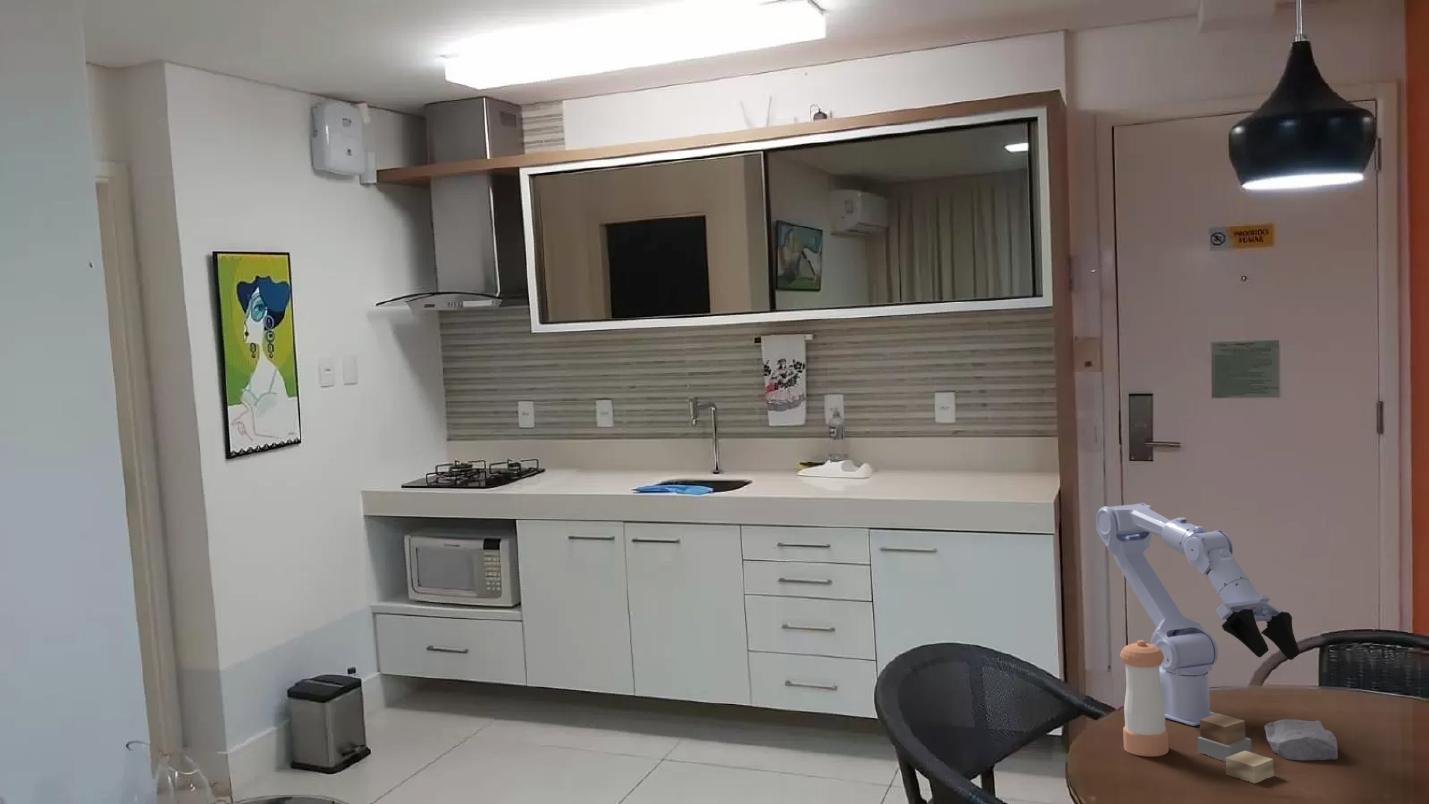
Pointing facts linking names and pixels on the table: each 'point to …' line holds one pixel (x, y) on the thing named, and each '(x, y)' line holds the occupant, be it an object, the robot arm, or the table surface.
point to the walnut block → (1222, 729)
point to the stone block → (1301, 740)
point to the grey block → (1222, 747)
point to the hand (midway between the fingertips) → (1279, 655)
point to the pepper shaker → (1144, 701)
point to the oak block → (1249, 766)
